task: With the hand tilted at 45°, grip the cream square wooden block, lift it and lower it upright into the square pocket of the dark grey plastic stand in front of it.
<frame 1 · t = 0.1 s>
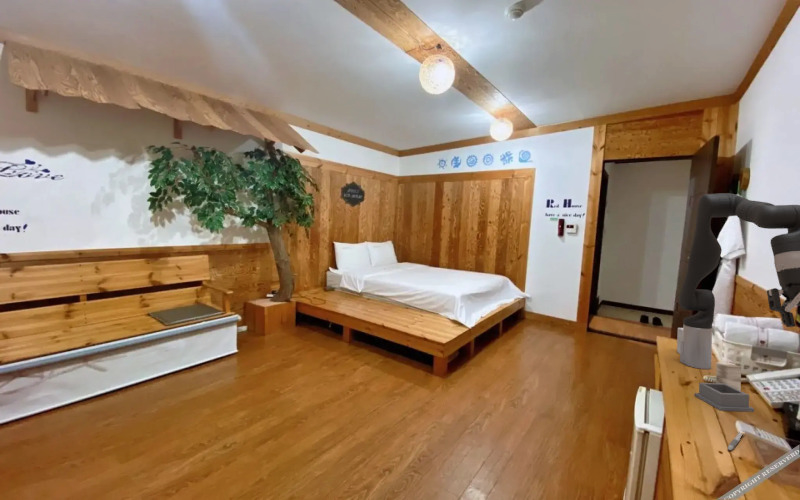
pen: (736, 444, 88), on the table
pocket stand: (722, 403, 109), on the table
cream block: (727, 391, 117), on the table
skincare box: (686, 354, 155), on the table
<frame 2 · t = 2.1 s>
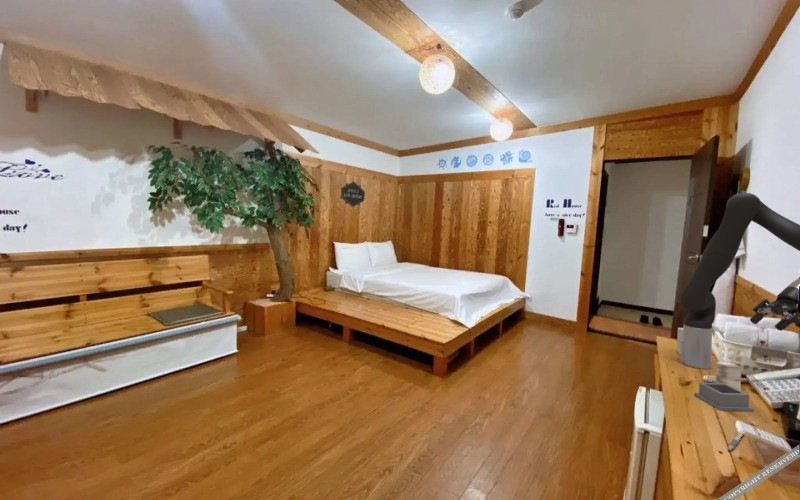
hand: (764, 325, 115), 24 cm above the table, tool tilted 45°, fingers open, 8 cm apart
nothing on the table moved.
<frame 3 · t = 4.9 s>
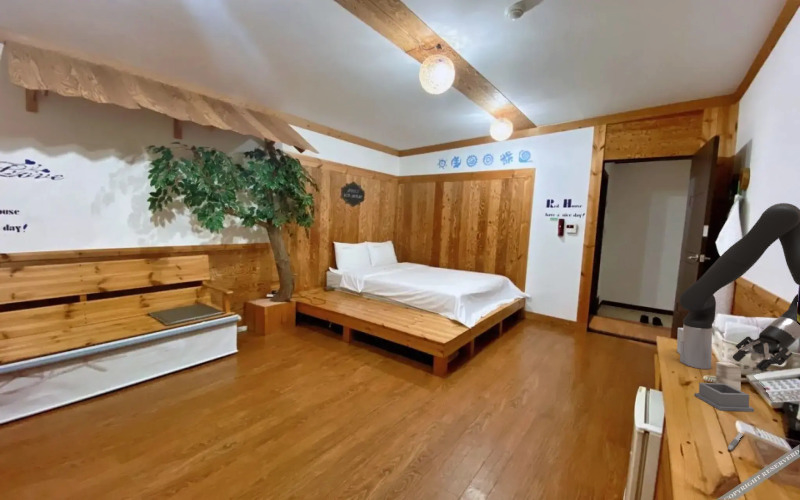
hand: (746, 364, 116), 10 cm above the table, tool tilted 45°, fingers open, 8 cm apart
nothing on the table moved.
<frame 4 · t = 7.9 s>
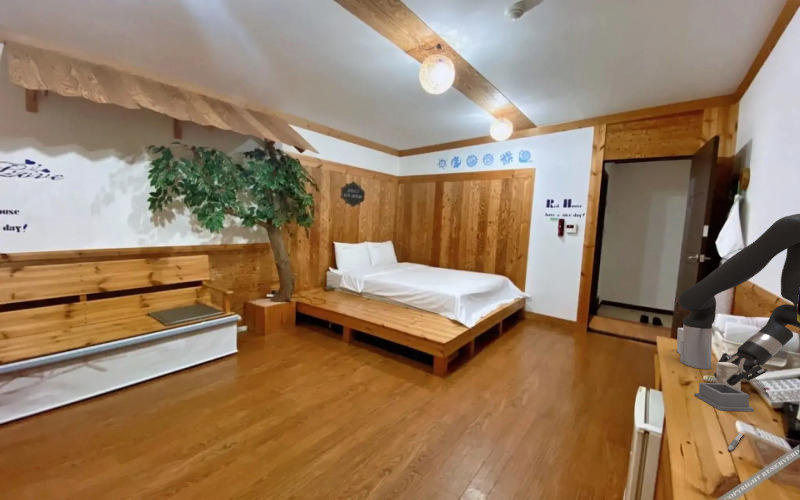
hand: (722, 380, 117), 4 cm above the table, tool tilted 45°, fingers closed on cream block, 4 cm apart
cream block: (728, 391, 117), on the table, touching gripper
everything else where it was.
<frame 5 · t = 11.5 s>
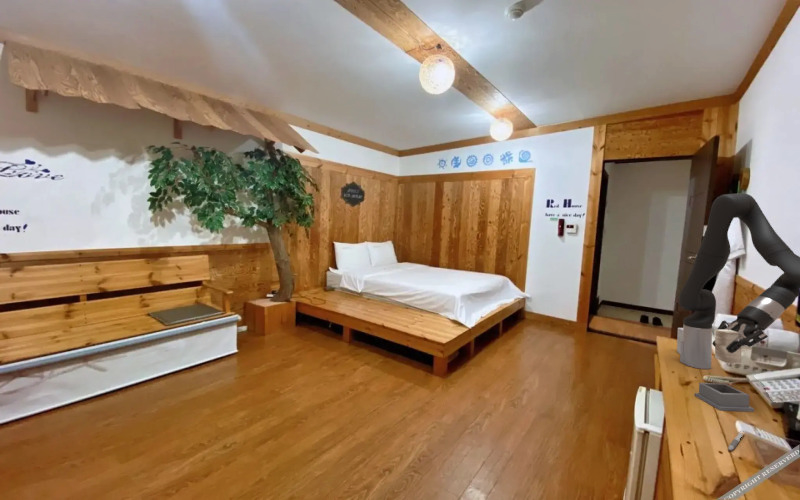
hand: (721, 348, 109), 18 cm above the table, tool tilted 45°, fingers closed on cream block, 4 cm apart
cream block: (727, 360, 109), point 14 cm above the table, touching gripper
everything else where it was.
when the fingers open (7 cm above the table, at t = 15.4 s): cream block drops 1 cm, resting on pocket stand.
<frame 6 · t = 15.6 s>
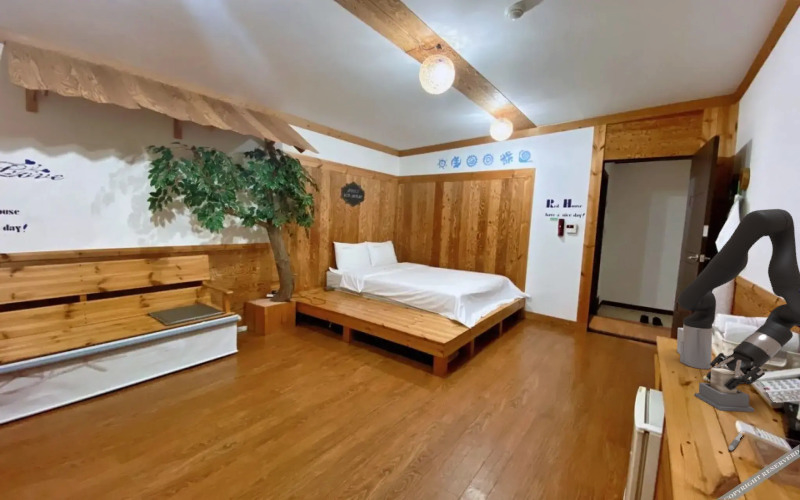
hand: (718, 383, 109), 7 cm above the table, tool tilted 45°, fingers open, 6 cm apart
cream block: (723, 400, 109), point 1 cm above the table, touching pocket stand
everything else where it was.
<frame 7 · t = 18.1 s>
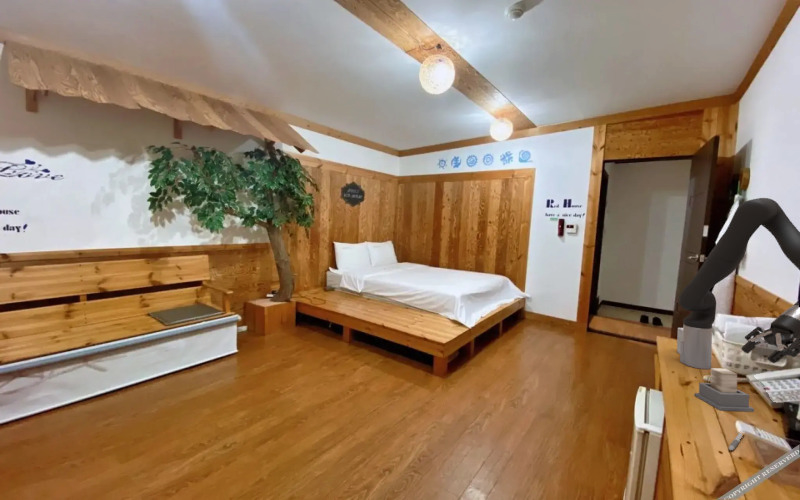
hand: (756, 356, 107), 16 cm above the table, tool tilted 45°, fingers open, 8 cm apart
nothing on the table moved.
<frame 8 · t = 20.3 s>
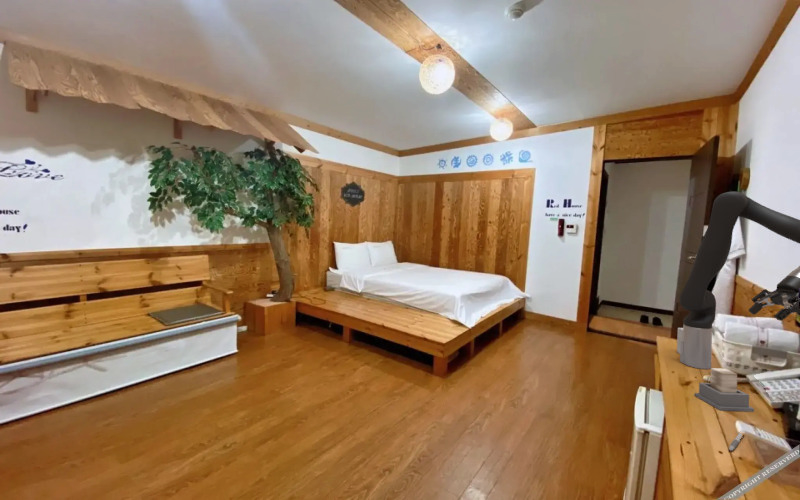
hand: (763, 315, 112), 29 cm above the table, tool tilted 45°, fingers open, 8 cm apart
nothing on the table moved.
at the end: cream block 0.1 cm off-centre on the pocket stand, point 1.0 cm above the pocket stand's base; cream block tilted 0°; the gripper is holding nothing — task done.
